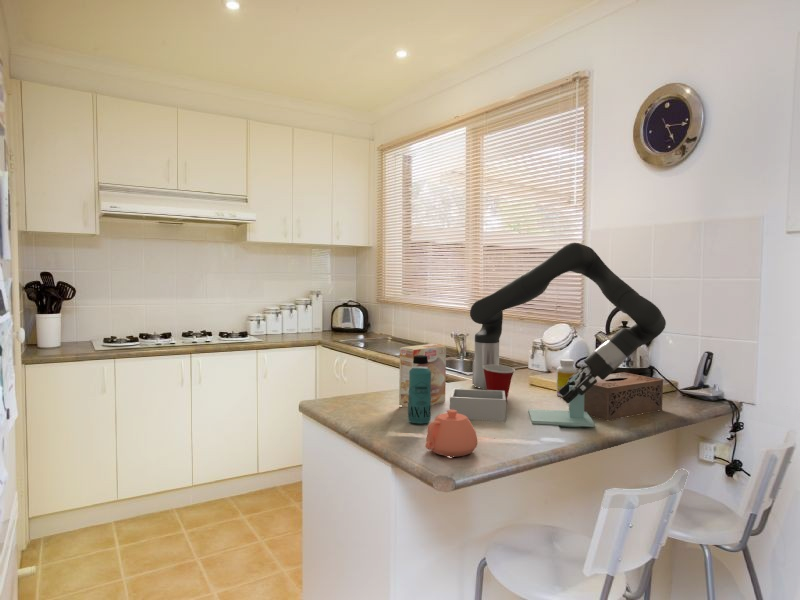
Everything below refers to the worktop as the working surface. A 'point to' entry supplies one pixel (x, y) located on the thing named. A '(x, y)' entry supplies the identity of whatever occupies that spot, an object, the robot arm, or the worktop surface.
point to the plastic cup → (498, 377)
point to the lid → (564, 415)
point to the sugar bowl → (451, 435)
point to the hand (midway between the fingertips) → (562, 397)
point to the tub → (479, 404)
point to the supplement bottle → (564, 373)
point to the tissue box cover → (623, 396)
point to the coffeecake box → (435, 364)
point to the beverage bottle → (419, 392)
